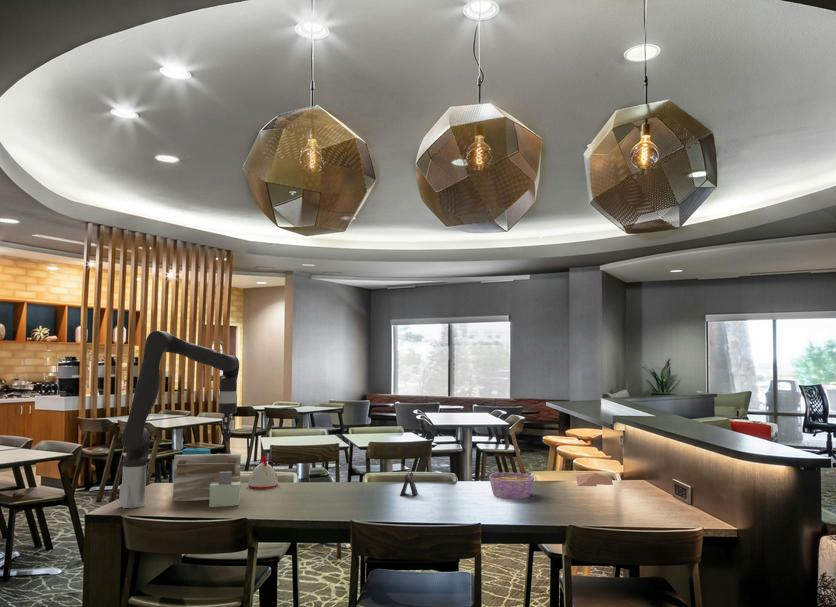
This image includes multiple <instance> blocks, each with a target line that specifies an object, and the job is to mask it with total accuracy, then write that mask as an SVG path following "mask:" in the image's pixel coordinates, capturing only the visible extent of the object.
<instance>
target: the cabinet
mask: <svg viewBox="0 0 836 607" xmlns="http://www.w3.org/2000/svg"><path fill="white" fill-rule="evenodd" d="M241 484H242V482H241V480H240V482H239V476H232V472H219V476H216V477H215V478H214V482H212V483H211V484H210V498H209V500H208V502H209V503H208V504H209V506H208V507H209V508H214V507H215V508H218V507H232V506H233V507H235V506H234V505H238V506H240V503H241V495H240V493H241V486H242V485H241Z"/></svg>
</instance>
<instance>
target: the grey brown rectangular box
mask: <svg viewBox="0 0 836 607" xmlns="http://www.w3.org/2000/svg"><path fill="white" fill-rule="evenodd" d="M241 457H242V453H215V454H214V453H213V454H211V453H210V454H202V455H182V454H175V455H174V459H173V460H174V462H173V483H172V484H173V486H172V487H173V489H172V502H188V501H189V502H191V501H207V500H208V501H209V498H210V484H211V483H212V482H214V478H215V477H216V476H219V472H232V476H239V482H240V481H241V464H242V463H241V460H242V458H241ZM240 496H241V492H240Z"/></svg>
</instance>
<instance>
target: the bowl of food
mask: <svg viewBox="0 0 836 607" xmlns="http://www.w3.org/2000/svg"><path fill="white" fill-rule="evenodd" d="M488 478H489V482H490V487H491V490H492V494H493V496H494V497H496V498H500V499H510V500H518V499H519V500H520V499H525V498H529V497H531V493H532V490H533V485H534V482H535V477H534V476H533V475H530V474H527V473H521V472H496V473H495V472H494V473H490V475H488Z"/></svg>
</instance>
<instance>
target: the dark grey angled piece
mask: <svg viewBox="0 0 836 607" xmlns="http://www.w3.org/2000/svg"><path fill="white" fill-rule="evenodd" d="M408 484H409V487H410V491H411V496H412V497H417V496H418V494H419V492H418V490H417V489H418V488H417V486H416V483H415V481H414V473H413V472H407V473H406V475H405V476H404V483H403V486H402V489H401V491H400V495H399V497H404V496H405V495H406V492H407V488H408Z"/></svg>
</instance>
